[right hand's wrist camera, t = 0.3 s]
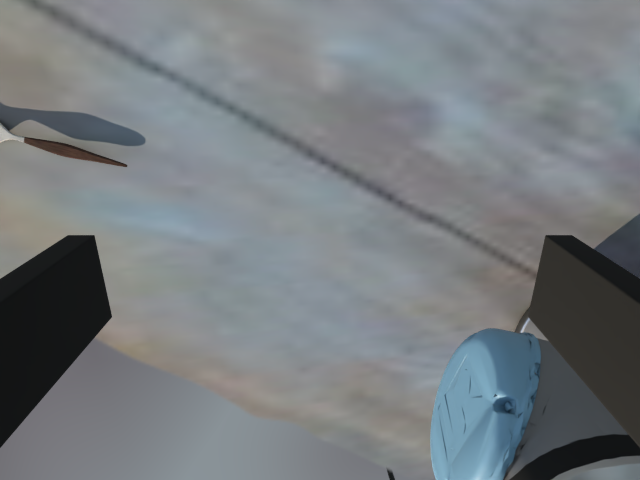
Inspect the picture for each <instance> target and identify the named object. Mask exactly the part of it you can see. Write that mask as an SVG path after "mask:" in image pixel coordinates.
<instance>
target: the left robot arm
mask: <svg viewBox="0 0 640 480" xmlns="http://www.w3.org/2000/svg"><path fill="white" fill-rule="evenodd" d="M529 310H530V307H529V309H528V310H527V311H526V312H525V314H524V315H523V317H522V318H521V320H520V321H519V324H518V326H517V328H516V331H515V332H510V331H506V330H501V329H494V328H490V329H485V330H481V331H479V332H478V333H475V334H473V335H471V336H469V337H468V338H467V339H466V340H465V341H464V342H463V343H462V344H461V345H460V346H459V347H458V349H457V350H456V351H455V353H454V354H453V356H452V358H451V360H450V361H449V363H448V365H447V367H446V370H445V372H444V374H443V377H442V379H441V382H440V385H439V388H438V392H437V396H436V400H435V406H434V410H433V415H432V423H431V439H430V445H431V459H432V466H433V471H434V475H435V478H436V480H640V447H639V446H638V445H637V444H636V443H635V442H634V440H633V439H632V438H631V437H630V436H629V435H628V433H627V432H626V431H625V430H624V429H623V428H622V426H621V425H620V424H619V423H618V422H617V421H616V419H615V418H614V417H613V416H612V415H611V413H610V412H609V411H608V410H607V409H606V408H605V406H604V405H603V404H602V403H601V402H600V401H599V399H598V398H597V397H596V396H595V395H594V394H593V392H592V391H591V390H590V389H589V388H588V387H587V385H586V384H585V383H584V382H583V381H582V379H581V378H580V377H579V376H578V375H577V374H576V372H575V371H574V370H573V369H572V368H571V367H570V365H569V364H568V363H567V362H566V361H565V360H564V358H563V357H562V356H561V355H560V354H559V353H558V351H557V350H556V349H555V348H554V347H553V346H552V344H551V343H550V342H549V341H548V340H547V338H546V337H545V336H544V335H543V334H542V333H541V331H540V330H539V329H538V328H537V327H536V326H535V324H534V323H533V322H532V321H531V320H530V319H529V317H528V315H529ZM386 469H387V468H386ZM387 472H388V476H389V479H390V480H395V478H394V475H393V471H391V470H388V469H387Z"/></svg>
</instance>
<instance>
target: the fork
mask: <svg viewBox="0 0 640 480" xmlns="http://www.w3.org/2000/svg"><path fill="white" fill-rule="evenodd" d="M9 139H14V140H18V141H21V142H24V143H27V144H29V145H32V146H35V147H37V148H40V149H43V150H46V151H48V152H51V153H54V154H57V155H61V156H64V157H69V158H75V159H81V160H88V161H94V162H100V163H106V164H111V165H117V166H123V167H127V165H126V164H123V163H121V162H118V161H115V160H112V159H109V158H106V157H103V156H100V155H97V154H94V153H91V152H88V151H86V150H83V149H80V148H77V147H74V146H71V145H68V144H64V143H59V142H54V141H47V140H41V139H34V138H27V137H21V136H17V135H14V134H12V133H11V132H10V131H8V130H7V129H6V128H5V127H4V126H3V125H2V124H1V123H0V142H3V141H6V140H9Z"/></svg>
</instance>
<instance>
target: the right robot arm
mask: <svg viewBox="0 0 640 480" xmlns="http://www.w3.org/2000/svg"><path fill="white" fill-rule="evenodd" d="M111 317H112V315H111V310H110V306H109V301H108V296H107V292H106V287H105V282H104V278H103V273H102V269H101V264H100V259H99V255H98V250H97V245H96V241H95V236H94V235H68V236H66V237H65V238H63V239H62V240H60V241H58V242H57V243H55V244H54V245H52V246H51V247H49V248H48V249H46V250H44V251H43V252H41V253H40V254H38V255H37V256H35V257H34V258H32V259H31V260H29V261H27V262H26V263H24V264H23V265H21V266H20V267H18V268H17V269H15V270H13V271H12V272H10V273H9V274H7V275H6V276H4V277H3V278H1V279H0V447H1V446H2V445H3V444H4V443H5V442H6V440H7V439H8V438H9V437H10V436H11V434H12V433H13V432H14V431H15V430H16V429H17V428H18V426H19V425H20V424H21V423H22V422H23V421H24V419H25V418H26V417H27V416H28V415H29V413H30V412H31V411H32V410H33V409H34V408H35V406H36V405H37V404H38V403H39V402H40V401H41V399H42V398H43V397H44V396H45V395H46V394H47V392H48V391H49V390H50V389H51V388H52V387H53V385H54V384H55V383H56V382H57V381H58V379H59V378H60V377H61V376H62V375H63V374H64V372H65V371H66V370H67V369H68V368H69V367H70V365H71V364H72V363H73V362H74V361H75V360H76V358H77V357H78V356H79V355H80V354H81V353H82V351H83V350H84V349H85V348H86V347H87V346H88V344H89V343H90V342H91V341H92V340H93V338H94V337H95V336H96V335H97V334H98V333H99V331H100V330H101V329H102V328H103V327H104V326H105V324H106V323H107V322H108V321H109V320H110V319H111ZM528 317H529V319H530V320H531V321H532V322H533V323H534V324H535V326H536V327H537V328H538V329H539V330H540V331H541V333H542V334H543V335H544V336H545V337H546V338H547V340H548V341H549V342H550V343H551V344H552V346H553V347H554V348H555V349H556V350H557V351H558V353H559V354H560V355H561V356H562V357H563V358H564V360H565V361H566V362H567V363H568V364H569V365H570V367H571V368H572V369H573V370H574V371H575V372H576V374H577V375H578V376H579V377H580V378H581V379H582V381H583V382H584V383H585V384H586V385H587V387H588V388H589V389H590V390H591V391H592V392H593V394H594V395H595V396H596V397H597V398H598V399H599V401H600V402H601V403H602V404H603V405H604V406H605V408H606V409H607V410H608V411H609V412H610V413H611V415H612V416H613V417H614V418H615V419H616V421H617V422H618V423H619V424H620V425H621V426H622V428H623V429H624V430H625V431H626V432H627V433H628V435H629V436H630V437H631V438H632V439H633V440H634V442H635V443H636V444H637V445H638V446H639V447H640V279H639V278H637V277H636V276H634V275H633V274H631V273H630V272H628V271H627V270H625V269H623V268H622V267H620V266H619V265H617V264H616V263H614V262H613V261H611V260H609V259H608V258H606V257H605V256H603V255H602V254H600V253H599V252H597V251H596V250H594V249H592V248H591V247H589V246H588V245H586V244H585V243H583V242H582V241H580V240H578V239H577V238H575V237H574V236H572V235H546V236H545V241H544V245H543V250H542V255H541V259H540V264H539V269H538V273H537V278H536V282H535V287H534V292H533V296H532V301H531V306H530V310H529V315H528Z"/></svg>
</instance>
